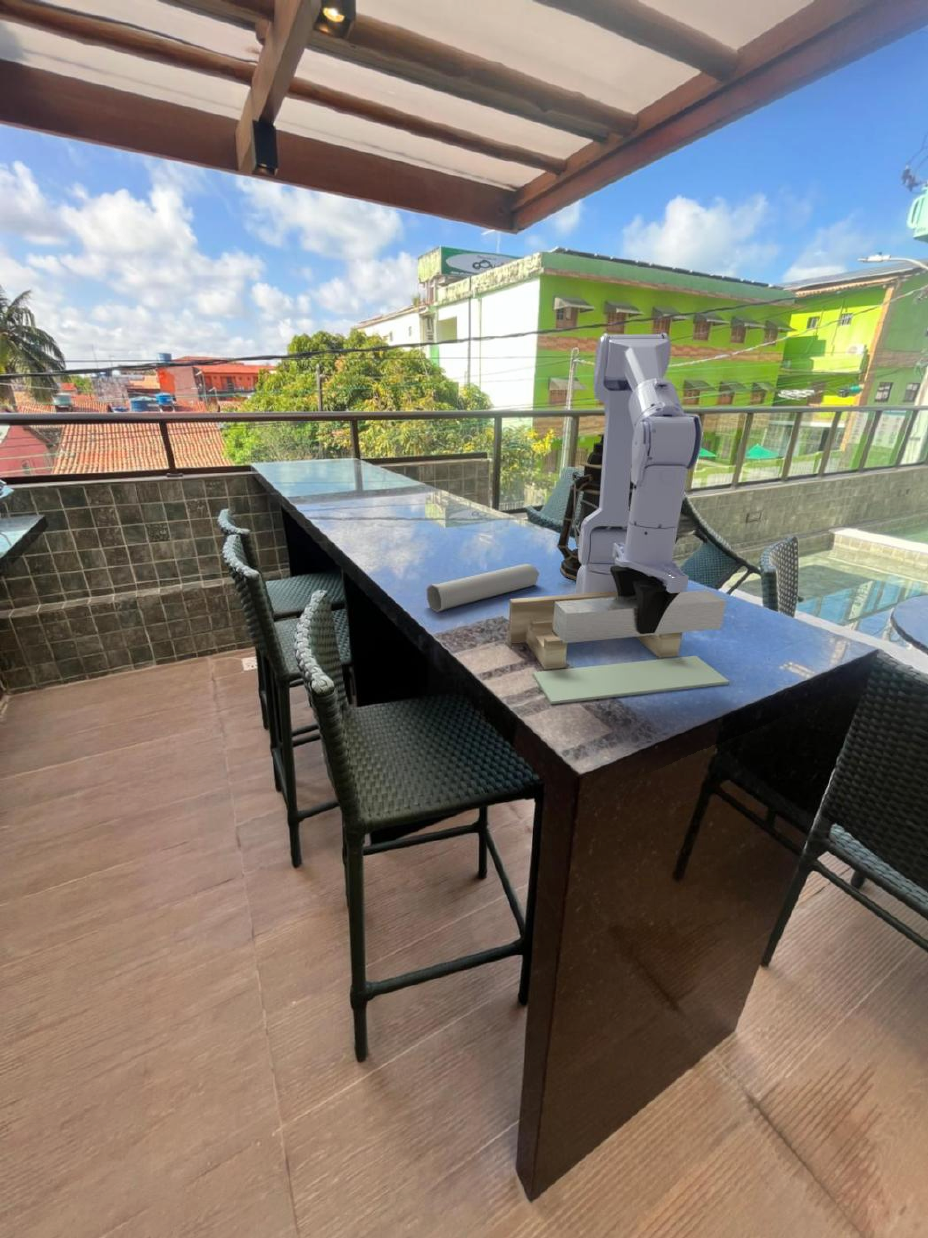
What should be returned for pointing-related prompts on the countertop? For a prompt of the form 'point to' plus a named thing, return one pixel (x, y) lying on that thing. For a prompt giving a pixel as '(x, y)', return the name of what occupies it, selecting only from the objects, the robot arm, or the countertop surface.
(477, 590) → the tube
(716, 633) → the countertop surface
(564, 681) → the mat
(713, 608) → the rail
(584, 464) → the lantern
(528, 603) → the rail stand
